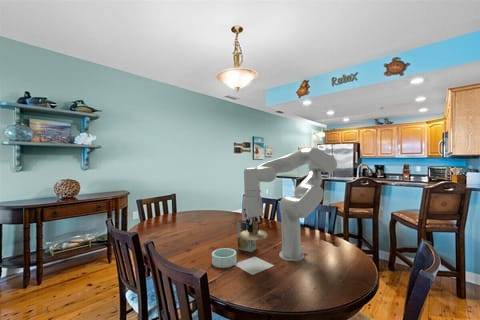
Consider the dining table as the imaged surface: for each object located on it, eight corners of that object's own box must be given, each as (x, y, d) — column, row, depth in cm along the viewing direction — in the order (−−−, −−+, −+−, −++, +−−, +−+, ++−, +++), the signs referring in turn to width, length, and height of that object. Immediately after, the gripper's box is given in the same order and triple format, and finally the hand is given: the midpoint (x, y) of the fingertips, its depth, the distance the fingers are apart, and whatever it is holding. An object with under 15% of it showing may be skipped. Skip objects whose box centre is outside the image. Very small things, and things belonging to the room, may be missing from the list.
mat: (254, 257, 125) (254, 256, 125) (274, 266, 114) (274, 265, 114) (233, 265, 116) (233, 264, 116) (252, 275, 105) (252, 274, 105)
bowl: (227, 255, 128) (226, 246, 128) (241, 263, 118) (240, 253, 118) (207, 262, 120) (207, 252, 120) (220, 270, 111) (220, 260, 111)
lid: (254, 229, 124) (254, 216, 124) (272, 235, 114) (272, 221, 114) (234, 235, 116) (234, 221, 116) (252, 242, 106) (251, 226, 106)
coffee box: (256, 248, 137) (256, 220, 137) (251, 252, 131) (251, 223, 131) (243, 246, 141) (242, 218, 141) (237, 249, 136) (236, 221, 136)
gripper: (259, 190, 123) (260, 226, 123) (234, 194, 113) (235, 233, 113) (269, 192, 117) (270, 229, 117) (244, 196, 107) (245, 237, 107)
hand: (253, 230), depth 115 cm, fingers closed on lid, 3 cm apart
